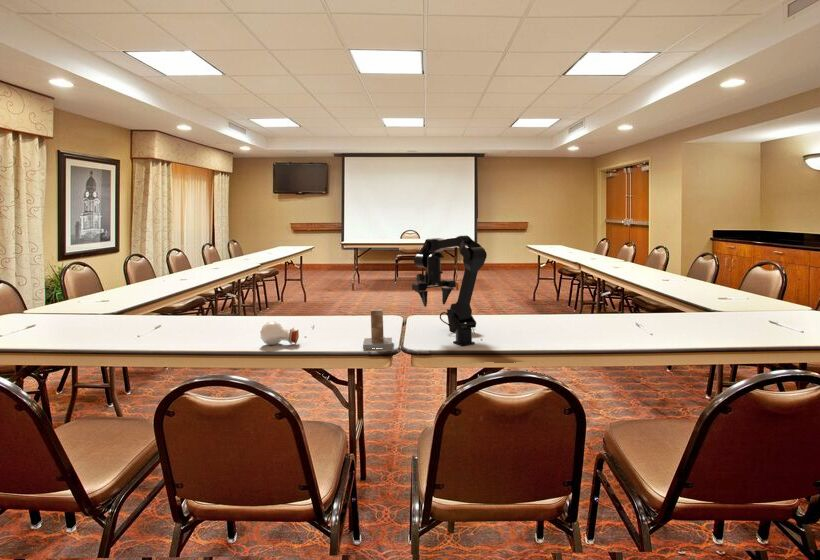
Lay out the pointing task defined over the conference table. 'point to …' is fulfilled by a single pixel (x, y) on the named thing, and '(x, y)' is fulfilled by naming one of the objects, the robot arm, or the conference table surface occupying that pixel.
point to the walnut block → (377, 325)
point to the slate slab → (377, 343)
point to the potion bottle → (278, 334)
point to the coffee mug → (448, 320)
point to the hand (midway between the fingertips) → (434, 305)
